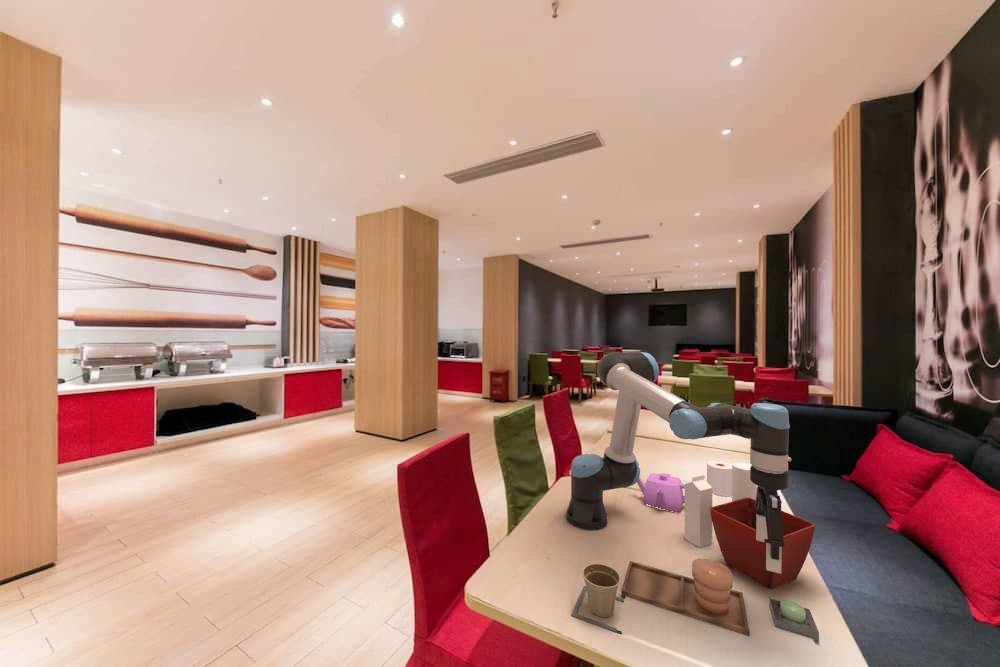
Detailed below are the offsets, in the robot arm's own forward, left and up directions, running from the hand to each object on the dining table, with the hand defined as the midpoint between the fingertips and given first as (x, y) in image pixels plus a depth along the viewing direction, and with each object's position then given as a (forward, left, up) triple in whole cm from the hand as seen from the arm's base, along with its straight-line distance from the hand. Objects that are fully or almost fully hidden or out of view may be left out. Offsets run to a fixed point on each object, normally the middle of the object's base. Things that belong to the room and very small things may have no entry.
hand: (767, 555), depth 90 cm
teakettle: (-28, +56, -17) cm, 64 cm away
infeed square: (-37, -15, -16) cm, 43 cm away
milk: (-15, +32, -16) cm, 39 cm away
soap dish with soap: (+5, +2, -16) cm, 17 cm away
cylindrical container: (-1, +41, -16) cm, 44 cm away
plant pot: (+1, +22, -16) cm, 27 cm away
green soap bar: (+5, +2, -15) cm, 16 cm away
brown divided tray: (-19, -1, -16) cm, 25 cm away
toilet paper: (-6, +82, -16) cm, 84 cm away
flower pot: (-37, -15, -16) cm, 43 cm away
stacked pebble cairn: (-12, -1, -15) cm, 19 cm away
